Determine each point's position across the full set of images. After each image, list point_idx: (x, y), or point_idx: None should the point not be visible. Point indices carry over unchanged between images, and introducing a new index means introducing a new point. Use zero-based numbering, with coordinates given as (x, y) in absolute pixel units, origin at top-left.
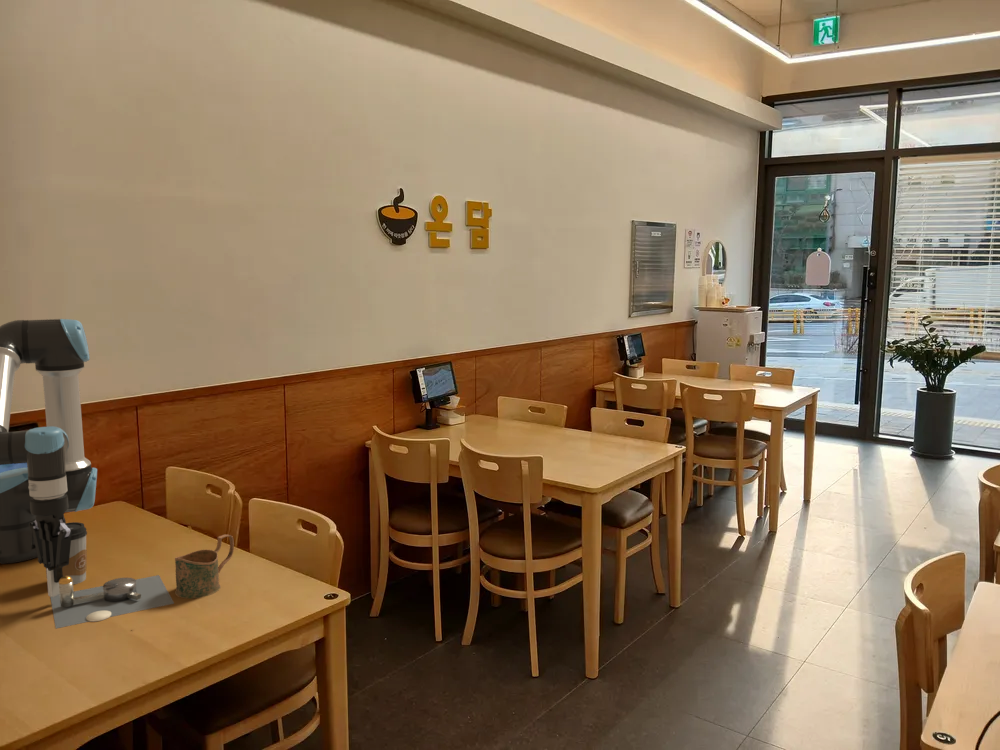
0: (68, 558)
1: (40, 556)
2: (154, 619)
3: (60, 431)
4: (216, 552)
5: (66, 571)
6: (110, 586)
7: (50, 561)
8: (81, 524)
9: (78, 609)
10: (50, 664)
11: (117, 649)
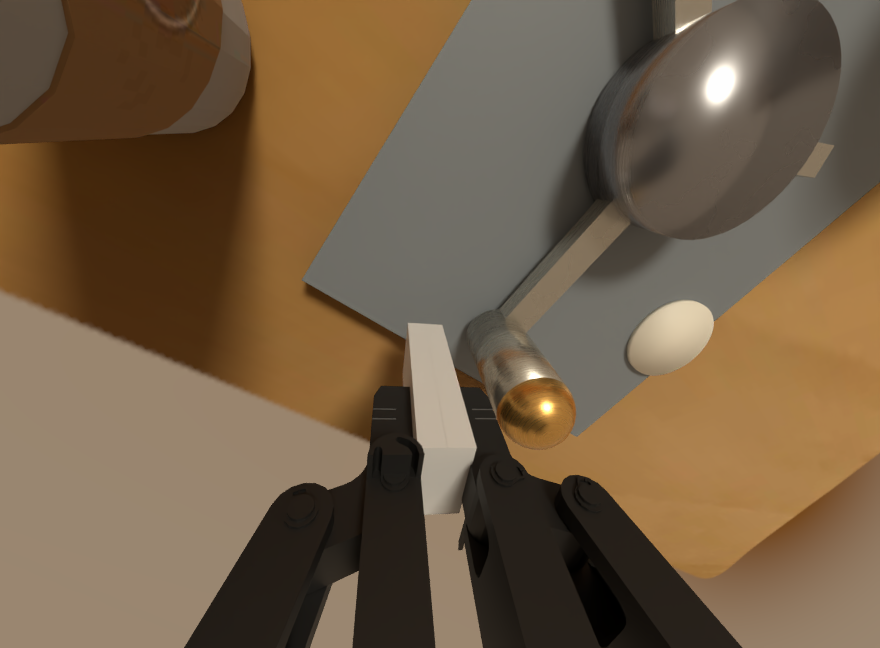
0: (655, 557)
1: (309, 645)
2: (847, 239)
3: None
4: None
5: (164, 112)
6: (693, 203)
7: (475, 592)
8: None
9: (552, 327)
10: (652, 493)
11: (776, 410)
